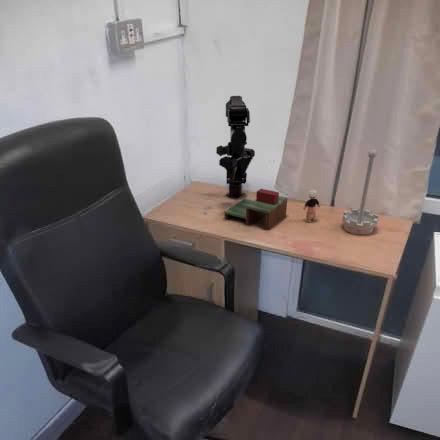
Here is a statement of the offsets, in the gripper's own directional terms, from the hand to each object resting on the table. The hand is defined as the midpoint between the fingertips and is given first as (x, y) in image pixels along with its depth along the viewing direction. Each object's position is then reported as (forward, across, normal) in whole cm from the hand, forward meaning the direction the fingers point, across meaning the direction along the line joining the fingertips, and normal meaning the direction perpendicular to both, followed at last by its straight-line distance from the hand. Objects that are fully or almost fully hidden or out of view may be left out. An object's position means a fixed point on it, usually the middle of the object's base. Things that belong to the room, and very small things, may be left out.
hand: (237, 178), depth 173 cm
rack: (+13, +5, +12) cm, 18 cm away
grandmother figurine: (+13, -4, +32) cm, 35 cm away
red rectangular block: (+5, +5, +17) cm, 18 cm away
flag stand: (+13, -7, +51) cm, 53 cm away
